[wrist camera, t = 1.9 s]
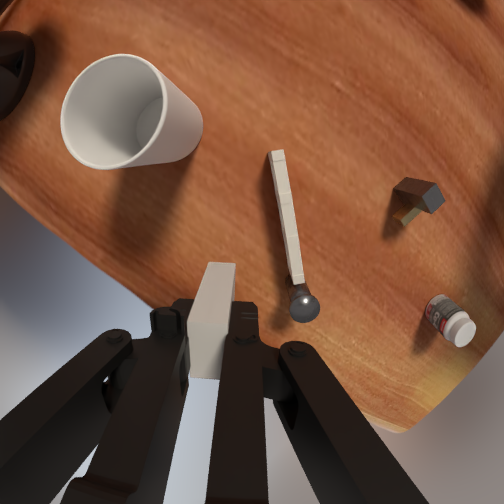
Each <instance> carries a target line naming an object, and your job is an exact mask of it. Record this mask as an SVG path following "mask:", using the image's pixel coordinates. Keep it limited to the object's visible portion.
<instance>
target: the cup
mask: <svg viewBox="0 0 504 504" xmlns="http://www.w3.org/2000/svg"><path fill="white" fill-rule="evenodd" d="M61 132H62V137H63V140H64V142H65V145H66V147H67V149H68V150H69V152H70V153H71V154H72V155H73V157H74V158H75V159H77V160H78V161H79V162H80V163H82V164H84V165H86V166H88V167H91V168H94V169H101V170H112V169H119V168H127V167H134V166H142V165H151V164H160V163H169V162H175V161H178V160H181V159H183V158H185V157H186V156H188V155H189V154H190V153H191V152H192V151H193V150H194V149H195V148H196V146H197V145H198V143H199V141H200V139H201V136H202V132H203V119H202V115H201V113H200V111H199V109H198V107H197V106H196V105H195V104H194V103H193V102H192V101H191V100H190V99H189V98H188V97H187V96H186V95H185V94H184V93H183V92H182V91H181V90H180V89H179V88H177V87H176V86H175V85H174V84H173V83H172V82H171V81H170V80H169V79H168V78H167V77H166V76H164V75H163V74H162V73H161V72H160V71H159V70H158V69H157V68H156V67H154V66H153V65H152V64H151V63H149V62H148V61H146V60H144V59H142V58H140V57H138V56H134V55H129V54H116V55H111V56H107V57H104V58H102V59H100V60H98V61H96V62H94V63H92V64H91V65H89V66H88V67H87V68H86V69H85V70H83V71H82V72H81V73H80V74H79V75H78V77H77V78H76V79H75V80H74V82H73V83H72V85H71V86H70V88H69V90H68V92H67V94H66V96H65V99H64V102H63V106H62V110H61Z"/></svg>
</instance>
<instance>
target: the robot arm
mask: <svg viewBox="0 0 504 504" xmlns="http://www.w3.org/2000/svg"><path fill="white" fill-rule="evenodd" d="M13 1H14V0H0V16H1V15H2V13H3V12H4V11H5V10H6V9H7V7H8V6H9V5H10V4H11V3H12V2H13ZM34 58H35V51H34V45H33V42H32V40H31V39H30V37H29V36H27V35H26V34H23V33H21V32H18V31H1V32H0V121H1V120H2V119H4V118H5V117H6V116H7V115H9V114H10V113H11V111H12V110H13V109H14V108H15V107H16V105H17V104H18V102H19V101H20V99H21V97H22V96H23V94H24V92H25V90H26V88H27V85H28V83H29V80H30V77H31V74H32V70H33V66H34ZM235 267H236V263H220V262H209V263H208V266H207V268H206V271H205V274H204V276H203V279H202V282H201V284H200V287H199V290H198V292H197V295H196V298H195V299H181V298H179V299H178V300H177V301H175V302H174V303H173V304H172V306H171V307H160V308H157V309H154V310H153V311H152V312H151V313H150V321H151V330H152V332H151V334H150V336H149V337H148V338H143V339H132V338H131V334H130V333H129V332H128V331H126V330H122V329H112V330H108V331H106V332H104V333H102V334H101V335H100V336H98V337H97V338H96V339H95V340H93V341H92V342H91V343H90V344H89V345H88V346H86V347H85V348H84V349H83V350H81V351H80V352H79V353H78V354H77V355H75V356H74V357H73V358H72V359H71V360H69V361H68V362H67V363H66V364H65V365H63V366H62V367H61V368H60V369H59V370H57V371H56V372H55V373H54V374H53V375H52V376H51V377H49V378H48V379H47V380H46V381H45V382H43V383H42V384H41V385H40V386H39V387H38V388H36V389H35V390H34V391H33V392H32V393H31V394H29V395H28V396H27V397H26V398H25V399H24V400H23V401H22V402H20V403H19V404H18V405H17V406H16V407H15V408H13V409H12V410H11V411H10V412H9V413H8V414H7V415H6V416H4V417H3V418H2V419H1V420H0V504H50V503H51V501H52V500H53V499H54V498H55V496H56V495H57V494H58V493H59V492H60V490H61V489H62V488H63V487H64V485H65V484H66V483H67V482H68V480H69V479H70V478H71V477H72V476H73V474H74V473H75V472H76V471H77V469H78V468H79V467H80V466H81V464H82V463H83V462H84V461H85V459H86V458H87V457H88V456H89V455H90V453H91V452H92V451H93V450H94V448H95V447H96V446H97V445H98V446H97V449H96V451H95V453H94V456H93V458H92V460H91V463H90V465H89V467H88V470H87V472H86V474H85V475H84V476H83V477H76V478H74V479H72V480H71V481H70V483H69V485H68V486H67V488H66V491H65V493H64V495H63V498H62V500H61V503H60V504H163V500H164V495H165V491H166V485H167V480H168V476H169V471H170V466H171V462H172V457H173V452H174V448H175V443H176V439H177V434H178V429H179V425H180V421H181V417H182V412H183V408H184V403H185V399H186V395H187V391H188V387H189V382H188V374H189V370H190V376H191V377H193V378H205V379H218V380H220V382H219V390H218V398H217V406H216V415H215V423H214V432H213V440H212V448H211V456H210V465H209V474H208V483H207V492H206V500H205V504H269V501H268V483H267V481H268V480H267V459H266V438H265V417H264V397H265V398H269V399H273V404H274V407H275V409H276V411H277V413H278V415H279V418H280V420H281V422H282V424H283V427H284V429H285V431H286V433H287V435H288V438H289V440H290V442H291V444H292V446H293V449H294V451H295V453H296V455H297V457H298V459H299V461H300V463H301V465H302V468H303V470H304V472H305V474H306V476H307V478H308V480H309V482H310V484H311V486H312V488H313V491H314V492H315V495H316V497H317V499H318V500H319V503H320V504H429V503H428V501H427V500H426V499H425V498H424V496H423V495H422V493H421V492H420V491H419V489H418V488H417V487H416V485H415V484H414V483H413V481H412V480H411V479H410V477H409V476H408V475H407V473H406V472H405V471H404V469H403V468H402V467H401V466H400V464H399V463H398V461H397V460H396V459H395V458H394V456H393V455H392V453H391V452H390V451H389V449H388V448H387V446H386V445H385V444H384V442H383V441H382V440H381V438H380V437H379V436H378V434H377V433H376V432H375V431H374V429H373V428H372V426H371V425H370V424H369V422H368V421H367V419H366V418H365V417H364V415H363V414H362V413H361V411H360V410H359V409H358V407H357V406H356V405H355V403H354V402H353V400H352V399H351V398H350V396H349V395H348V394H347V392H346V391H345V390H344V388H343V387H342V385H341V384H340V383H339V381H338V380H337V379H336V377H335V376H334V375H333V373H332V372H331V370H330V369H329V368H328V366H327V365H326V364H325V362H324V361H323V360H322V358H321V357H320V355H319V354H318V353H317V351H316V350H315V349H314V348H313V347H312V346H311V345H310V344H307V343H305V342H301V341H290V342H286V343H284V344H283V345H281V347H280V349H278V348H274V347H271V346H268V345H266V344H264V343H263V342H262V341H261V339H260V337H259V327H258V307H257V306H256V305H255V304H254V303H253V302H242V301H234V294H235ZM107 376H108V380H107V381H106V382H103V381H104V380H105V378H106V377H107ZM98 443H99V444H98Z"/></svg>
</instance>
